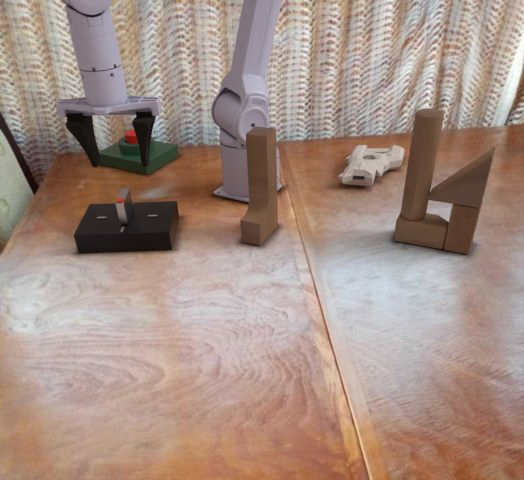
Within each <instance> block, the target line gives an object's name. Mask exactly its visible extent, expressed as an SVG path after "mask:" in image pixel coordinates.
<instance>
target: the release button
mask: <svg viewBox="0 0 524 480" xmlns="http://www.w3.org/2000/svg"><path fill="white" fill-rule="evenodd" d="M124 136H125V137H126V142H127V143H129V144H137V143H138V141H137V137H136V134H135V131H134V129H130V130H127V131H126V132H124Z"/></svg>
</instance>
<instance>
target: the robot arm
mask: <svg viewBox="0 0 524 480" xmlns="http://www.w3.org/2000/svg"><path fill="white" fill-rule="evenodd" d="M61 1H62V3H63V4H64V5H65V6H64V8H65V11H66V19H67V22H68V25H69V33H70V38H71V42H72V47H73V51H74V55H75V59H76V63H77V67H78V72H79V75H80V79H81V84H82V88H83V93H84V96H82V97H75V98H64V99H63V98H62V99H58V100H57V102H55V108H56V112H57V116H58V118H59V119H60V118H61V119H63V118H64V119H66V122H65V123H64V125H65V128H66V130H67V131H68V132H69V133H70V134H71V135H72V136H73V138H74V139H75V140H76V142H77V143H78V144H79V145H80V146H81V148H82V150H83V152H84V154H85V155H86V156H87V159H88V160H89V162H90V164H91V167H92V168H98V167H99V165H101V164H100V162H101V161H100V154H99V152H100V151H99V147H98V143H97V140H96V135H95V129H94V119H93V118H94V117H93V116H128V115H129V116H130V115H131V116H133V115H134V116H136V117H134V118H133V119H132V121H131V125H132V128H133V130H134V131H135V134H136V137H137V141H138V145H139V150H140V157H141V163H142V166H143V167H147V166H148V164H149V162H150V141H151V136H152V135H153V129H154V126H155V123H156V122H155V121H156V118H157V117H159V116H160V115H161V114H162V112H163V108H162V102H161V97H160V96H143V95H133V94H128V90H127V85H126V78H125V73H124V69H123V63H122V59H121V53H120V48H119V42H118V38H117V33H116V27H115V24H114V21H113V16H112V11H111V6H112V4H113V1H114V0H61ZM282 2H283V0H243V1H242V6H241V12H240V17H239V21H238V27H237V32H236V38H235V43H234V49H233V54H232V59H231V65H230V70H229V71H228V72H227V74H225V75H224V77H223V78H222V79H221V82H220V86H219V90H218V93H217V94H216V96H215V97H214V98H213V100H212V103H211V107H210V114H211V118H212V120H213V122H214V124H215V125H216V126H217V127H218V128H219V136H218V137H219V138H218V139H219V151H220V163H221V175H222V185H221V186H220V187H218V188H217V189H215V190H214V191H213V195H214V196H217V197H222V198H226V199H231V200H235V201H239V202H244V203H248V204H249V185H248V167H247V149H246V133H248V132H249V131H250V130H251V129H253V128H254V127H256V126H257V127H265V128H270V126H271V117H270V111H269V109H270V108H269V106H270V102H271V96H270V93H269V90H268V86H267V83H266V75H267V71H268V67H269V62H270V56H271V52H272V47H273V43H274V39H275V33H276V29H277V24H278V21H279V15H280V12H281V7H282ZM276 150H277V192H278V191H279V190H280V189H282V187H283V185H282V184H281V176H280V175H281V173H280V172H281V167H280V164H281V163H280V160H281V159H280V151H279V148H278V146H277V145H276Z"/></svg>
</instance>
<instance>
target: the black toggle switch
mask: <svg viewBox="0 0 524 480" xmlns="http://www.w3.org/2000/svg"><path fill="white" fill-rule="evenodd" d="M115 203H116V202H110V203H89V204H88V206H87V208H86V210H85V212H84V213H83V216H82V217H81V220H80V222H79V224H78V225H77V227H76V230H75V232H74V233H73V239H74V242H75V245H76V249H77V252H78V254H93V253H95V254H96V253H119V252H121V253H122V252H148V251H149V252H151V251H152V252H153V251H172V250H173V249H174V243H175V239H176V234H177V230H178V225H179V221H180V213H179V207H178V201H177V200H166V201H163V200H162V201H140V202H133V207H134V210H133V213H132V216H131V218H130V221H129V224H128V225H120V221H119V217H118V213H117V208H116V204H115Z"/></svg>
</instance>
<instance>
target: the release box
mask: <svg viewBox="0 0 524 480" xmlns="http://www.w3.org/2000/svg"><path fill="white" fill-rule="evenodd" d="M178 146H179V145H178V144H175V143H169V142H163V141H159V140H154V137H153V136H152V135H151V141H150V162H149V164H148V166H147V167H143V166H142V163H141V157H140V150H139V145H138V143H137V144H129V143H127V142H126V137H125V135H124V136H123V137H121V138H119V140H118V141H117V142H116V143H114V144H112V145H110V146H108V147H106V148H104V149H102V150H100V151H99V154H100V161H101V162H100V164H99V165H101V166H106V167H110V168H116V169H119V170H123V171H129V172H133V173H137V174H142V175H146V176H148V175H149V174H152V173H154V172H155V171H156V170H158V169H160V168H162V167H163V166H165V165H166V164H167V163H169V162H171V161H173V160H175V159H176V158H178V157H179V156H180V154H179V147H178Z"/></svg>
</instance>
